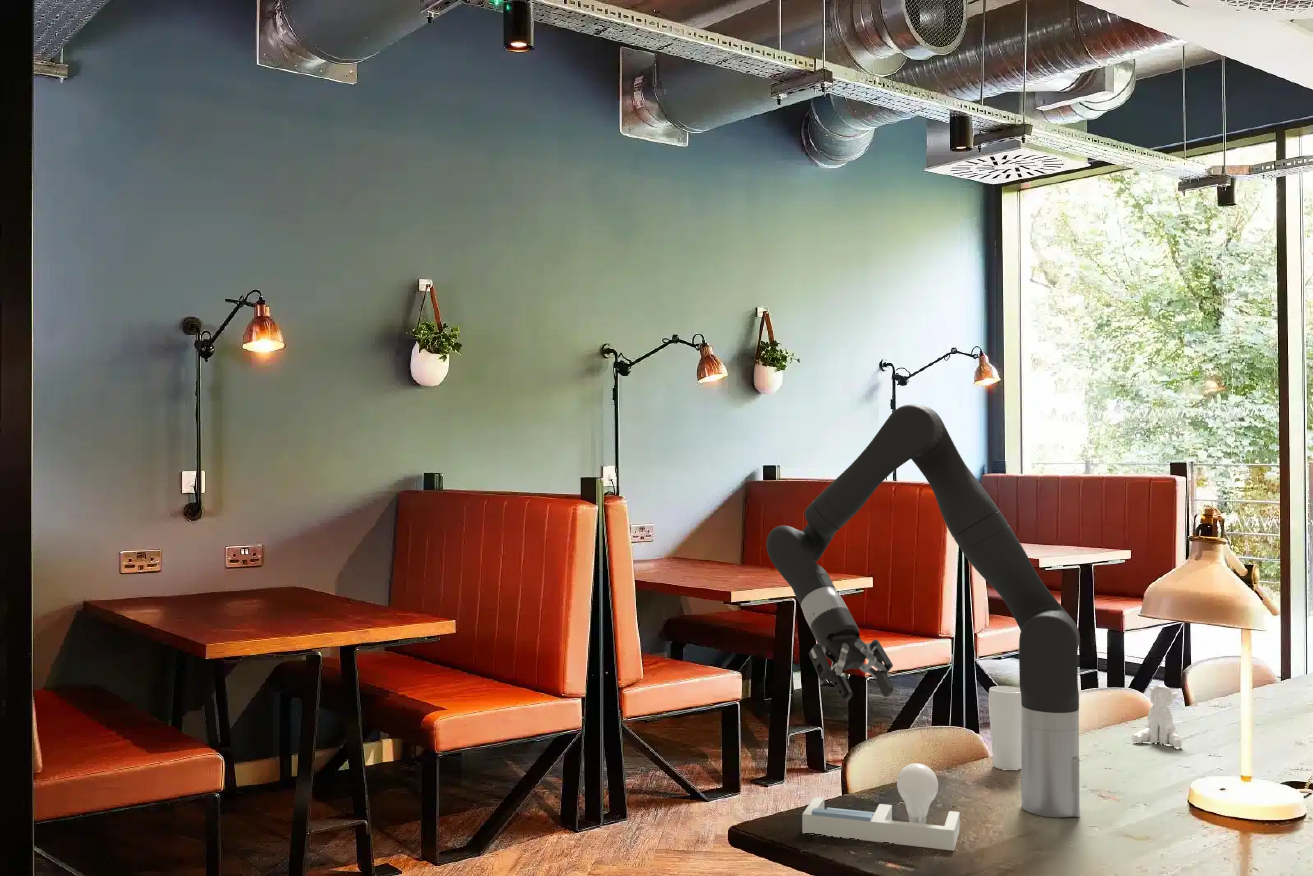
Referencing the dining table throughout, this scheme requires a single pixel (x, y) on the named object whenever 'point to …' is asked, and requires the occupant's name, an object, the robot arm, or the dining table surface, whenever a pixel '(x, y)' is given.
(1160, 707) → the white creature statuette
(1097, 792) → the dining table surface
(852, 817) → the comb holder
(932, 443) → the robot arm
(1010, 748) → the drinking glass
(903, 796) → the lightbulb
